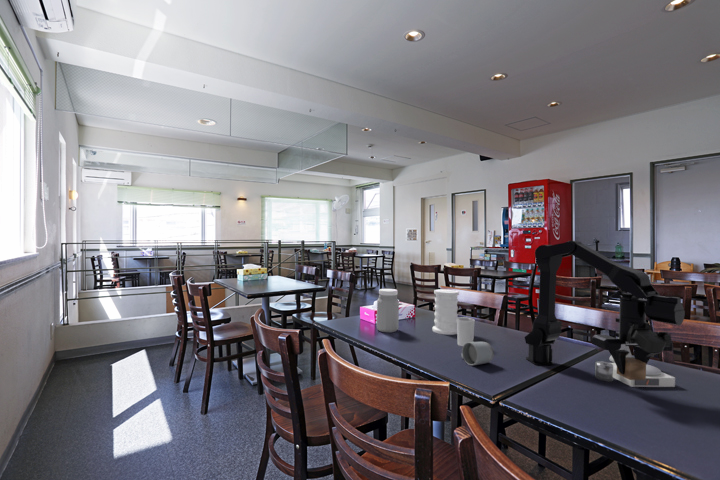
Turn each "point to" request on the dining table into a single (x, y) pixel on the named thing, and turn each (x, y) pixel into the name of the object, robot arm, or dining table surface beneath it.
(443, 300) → the decorative container
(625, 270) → the robot arm
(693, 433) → the dining table surface
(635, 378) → the walnut block
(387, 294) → the jar
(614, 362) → the flask
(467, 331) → the drinking glass
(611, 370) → the steel weight with knob
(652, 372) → the kitchen scale
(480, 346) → the ceramic mug
